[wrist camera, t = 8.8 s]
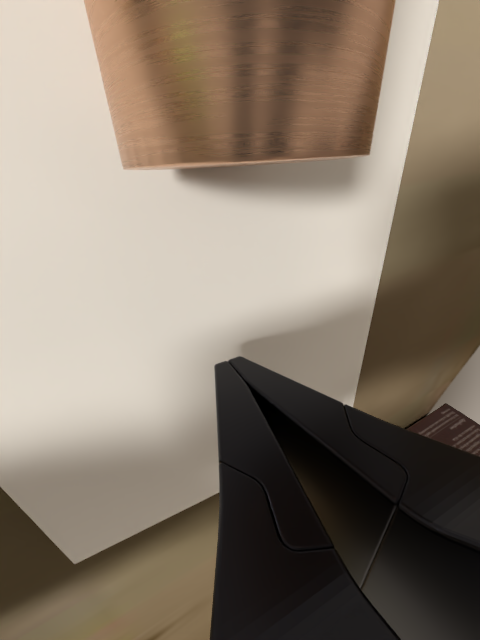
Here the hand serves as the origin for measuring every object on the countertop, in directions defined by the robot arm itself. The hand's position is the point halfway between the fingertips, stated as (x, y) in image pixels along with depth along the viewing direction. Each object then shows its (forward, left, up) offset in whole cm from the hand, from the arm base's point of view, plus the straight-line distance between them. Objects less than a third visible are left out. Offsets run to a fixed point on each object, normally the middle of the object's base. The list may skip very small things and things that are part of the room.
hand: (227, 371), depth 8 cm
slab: (+9, 0, -2) cm, 9 cm away
